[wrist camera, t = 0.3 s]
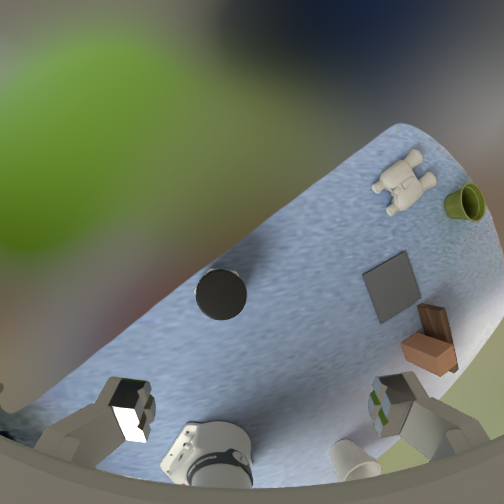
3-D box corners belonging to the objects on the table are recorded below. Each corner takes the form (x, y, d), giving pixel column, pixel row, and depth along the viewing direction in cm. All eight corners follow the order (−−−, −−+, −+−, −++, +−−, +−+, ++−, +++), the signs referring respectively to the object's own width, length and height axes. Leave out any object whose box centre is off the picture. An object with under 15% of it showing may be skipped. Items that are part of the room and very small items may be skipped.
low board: (432, 363, 67) (454, 373, 59) (416, 306, 67) (439, 311, 58) (436, 360, 68) (458, 369, 59) (421, 303, 67) (444, 307, 58)
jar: (216, 257, 62) (217, 256, 50) (250, 282, 63) (258, 287, 51) (189, 294, 61) (183, 302, 49) (223, 318, 62) (225, 332, 50)
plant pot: (435, 216, 68) (458, 211, 60) (442, 182, 69) (463, 175, 60) (459, 230, 69) (482, 228, 61) (465, 198, 70) (487, 193, 61)
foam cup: (335, 469, 64) (353, 498, 51) (316, 451, 64) (334, 481, 51) (364, 446, 65) (387, 472, 52) (348, 427, 65) (370, 454, 52)
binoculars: (430, 187, 69) (441, 183, 64) (389, 221, 67) (400, 219, 62) (408, 151, 68) (418, 145, 63) (365, 182, 66) (374, 177, 62)
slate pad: (380, 323, 66) (381, 323, 65) (362, 274, 65) (363, 275, 65) (419, 298, 67) (420, 298, 66) (403, 251, 67) (405, 251, 66)
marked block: (406, 359, 66) (440, 377, 53) (400, 342, 66) (436, 358, 52) (422, 348, 67) (457, 362, 53) (417, 331, 67) (454, 343, 53)
